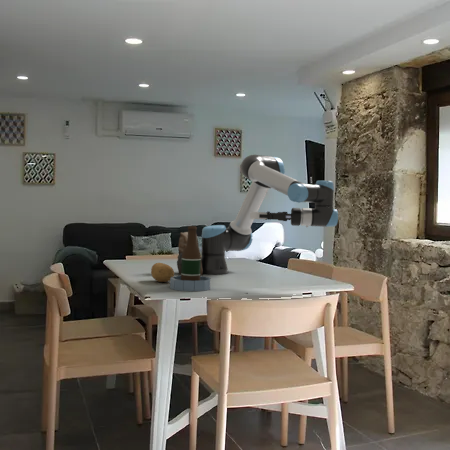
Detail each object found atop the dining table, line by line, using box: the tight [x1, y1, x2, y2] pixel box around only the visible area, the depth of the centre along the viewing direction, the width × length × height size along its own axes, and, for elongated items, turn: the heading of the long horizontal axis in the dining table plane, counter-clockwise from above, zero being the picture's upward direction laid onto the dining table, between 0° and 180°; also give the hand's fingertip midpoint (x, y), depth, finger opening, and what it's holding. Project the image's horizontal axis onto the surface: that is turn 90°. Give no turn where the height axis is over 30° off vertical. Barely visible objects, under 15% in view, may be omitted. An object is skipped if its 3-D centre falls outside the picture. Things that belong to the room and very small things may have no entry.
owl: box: [176, 231, 204, 276], centre depth 279 cm, size 13×13×20 cm
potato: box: [150, 262, 175, 283], centre depth 246 cm, size 10×14×8 cm
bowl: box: [169, 275, 211, 292], centre depth 232 cm, size 16×16×4 cm
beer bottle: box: [180, 225, 201, 281], centre depth 232 cm, size 8×8×24 cm
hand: (250, 215), depth 244 cm, fingers open, 13 cm apart
